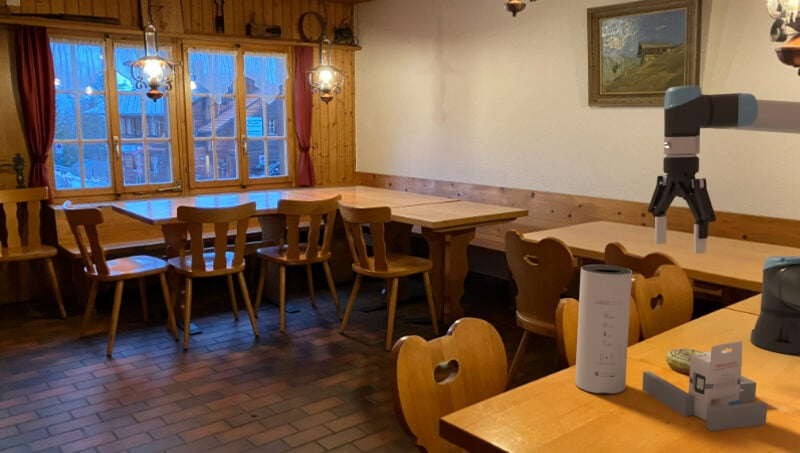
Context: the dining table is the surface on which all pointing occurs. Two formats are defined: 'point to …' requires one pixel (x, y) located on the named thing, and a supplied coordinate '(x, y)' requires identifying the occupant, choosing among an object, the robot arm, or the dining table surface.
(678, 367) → the decorated donut
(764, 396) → the dining table surface
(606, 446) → the dining table surface
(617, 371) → the speaker
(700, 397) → the ink box
